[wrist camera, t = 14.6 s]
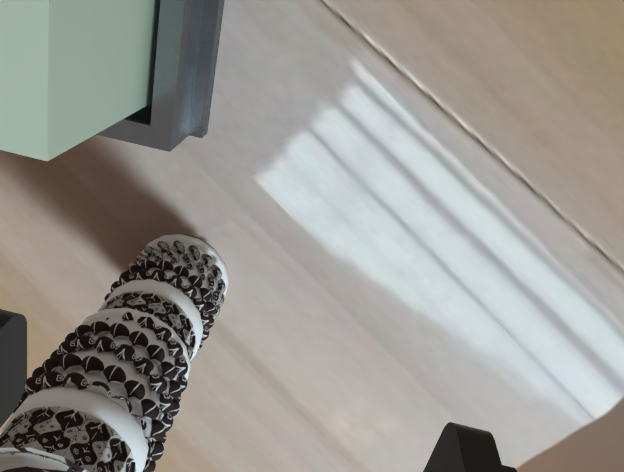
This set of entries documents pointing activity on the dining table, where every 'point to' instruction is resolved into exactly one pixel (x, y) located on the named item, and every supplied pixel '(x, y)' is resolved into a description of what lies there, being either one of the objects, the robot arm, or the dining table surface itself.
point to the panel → (72, 70)
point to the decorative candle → (120, 368)
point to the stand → (178, 77)
